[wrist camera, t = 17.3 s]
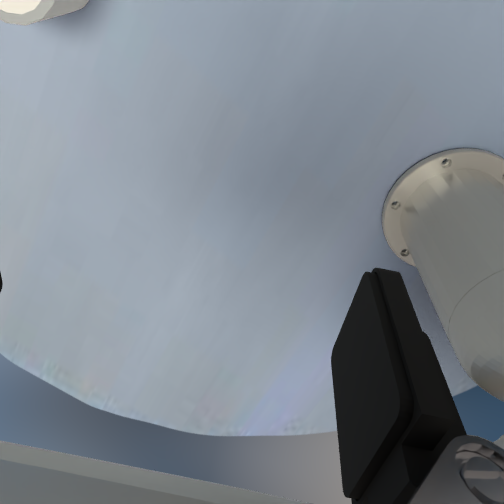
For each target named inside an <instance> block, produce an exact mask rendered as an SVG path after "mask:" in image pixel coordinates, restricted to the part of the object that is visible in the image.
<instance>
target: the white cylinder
mask: <svg viewBox="0 0 504 504" xmlns="http://www.w3.org/2000/svg"><path fill="white" fill-rule="evenodd" d="M88 1H89V0H0V20H2V21H4V22H6V23H11V24H18V25H29V24H33V23H36V22H40V21H43V20H47V19H50V18H54V17H58V16H61V15H65V14H68V13H72V12H74V11H77V10H79V9H82V8H83V7H84V6H85V5H86V4H87V3H88Z"/></svg>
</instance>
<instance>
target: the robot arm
mask: <svg viewBox="0 0 504 504" xmlns="http://www.w3.org/2000/svg"><path fill="white" fill-rule="evenodd" d="M444 159H446V161H445V162H442V161H443V160H444ZM395 201H396V203H393V202H395ZM382 227H383V231H384V235H385V238H386V240H387V243H388V245H389V246H390V248H391V249H392V251H393V252H394V253H395V254H396V255H397V256H398V257H399V258H400V259H401V260H403V261H405V262H406V263H408V264H409V265H412V266H415V267H417V270H418V272H419V274H420V276H421V279H422V281H423V283H424V285H425V288H426V290H427V292H428V294H429V297H430V299H431V301H432V303H433V305H434V308H435V310H436V312H437V314H438V317H439V319H440V321H441V323H442V326H443V328H444V330H445V332H446V335H447V337H448V339H449V341H450V343H451V345H452V347H453V350H454V352H455V354H456V356H457V358H458V360H459V362H460V364H461V366H462V367H463V369H464V370H465V371H466V373H467V374H468V375H469V377H470V378H471V379H472V380H473V381H474V382H475V383H477V384H478V385H479V386H480V387H481V388H482V389H484V390H485V391H487V392H488V393H490V394H491V395H493V396H495V397H496V398H498V399H500V400H501V401H504V159H503V158H501V157H500V156H498V155H496V154H493V153H491V152H489V151H485V150H480V149H474V148H459V149H453V150H447V151H443V152H440V153H437V154H434V155H432V156H430V157H428V158H426V159H424V160H422V161H420V162H418V163H417V164H415V165H414V166H413V167H411V168H410V169H409V170H407V171H406V172H405V173H404V174H403V175H402V176H401V177H400V178H399V179H398V180H397V182H396V183H395V185H394V186H393V187H392V189H391V190H390V192H389V194H388V196H387V199H386V201H385V203H384V208H383V212H382ZM1 289H2V277H1V273H0V292H1ZM331 365H332V376H333V387H334V398H335V409H336V420H337V431H338V441H339V452H340V463H341V474H342V484H343V492H344V495H345V497H347V498H351V499H352V504H504V435H502V436H501V437H500V438H499V439H498V440H497V441H495V442H491V441H488V440H486V439H483V438H480V437H478V436H471V435H467V434H466V431H465V429H464V426H463V424H462V421H461V419H460V416H459V413H458V411H457V409H456V406H455V403H454V401H453V398H452V395H451V393H450V390H449V388H448V385H447V383H446V380H445V378H444V375H443V372H442V370H441V367H440V365H439V362H438V360H437V357H436V354H435V352H434V349H433V347H432V344H431V342H430V339H429V337H428V336H427V334H426V333H424V332H423V331H422V329H421V327H420V324H419V321H418V319H417V316H416V313H415V311H414V308H413V306H412V303H411V300H410V298H409V295H408V292H407V290H406V287H405V284H404V282H403V279H402V276H401V274H400V273H399V272H395V271H390V270H385V269H381V268H374V269H373V271H372V272H371V273H370V272H365V273H364V275H363V277H362V279H361V281H360V284H359V286H358V289H357V291H356V294H355V296H354V298H353V301H352V303H351V306H350V308H349V311H348V313H347V316H346V318H345V320H344V323H343V325H342V328H341V330H340V333H339V335H338V338H337V340H336V342H335V345H334V347H333V351H332V356H331ZM0 504H311V503H306V502H302V501H297V500H292V499H288V498H283V497H279V496H274V495H269V494H265V493H260V492H256V491H251V490H247V489H242V488H237V487H232V486H227V485H222V484H216V483H212V482H206V481H202V480H197V479H192V478H187V477H182V476H177V475H172V474H167V473H162V472H157V471H152V470H147V469H142V468H137V467H132V466H127V465H122V464H117V463H112V462H107V461H102V460H97V459H92V458H87V457H82V456H77V455H71V454H66V453H61V452H56V451H51V450H46V449H40V448H35V447H30V446H25V445H20V444H15V443H10V442H5V441H0Z"/></svg>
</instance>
